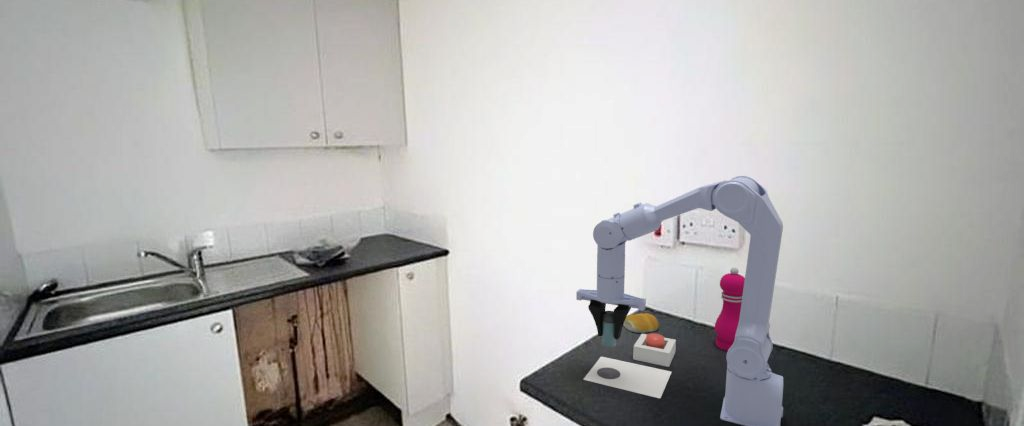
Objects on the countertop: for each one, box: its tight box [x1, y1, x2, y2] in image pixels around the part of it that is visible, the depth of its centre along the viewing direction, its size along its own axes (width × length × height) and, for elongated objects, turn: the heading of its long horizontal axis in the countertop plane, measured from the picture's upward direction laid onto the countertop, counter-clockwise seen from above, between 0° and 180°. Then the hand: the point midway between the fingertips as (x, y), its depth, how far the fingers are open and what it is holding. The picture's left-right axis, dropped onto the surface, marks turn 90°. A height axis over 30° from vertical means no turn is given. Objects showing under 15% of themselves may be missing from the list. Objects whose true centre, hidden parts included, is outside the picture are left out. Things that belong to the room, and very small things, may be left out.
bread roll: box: [623, 312, 660, 334], centre depth 128 cm, size 8×9×4 cm
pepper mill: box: [714, 267, 745, 352], centre depth 115 cm, size 7×7×20 cm
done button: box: [646, 332, 665, 349], centre depth 111 cm, size 4×4×2 cm
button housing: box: [632, 333, 677, 368], centre depth 111 cm, size 8×8×4 cm
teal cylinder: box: [601, 310, 617, 348], centre depth 102 cm, size 3×3×7 cm
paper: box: [583, 356, 673, 399], centre depth 102 cm, size 16×12×1 cm
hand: (609, 336), depth 102 cm, fingers closed on teal cylinder, 3 cm apart
